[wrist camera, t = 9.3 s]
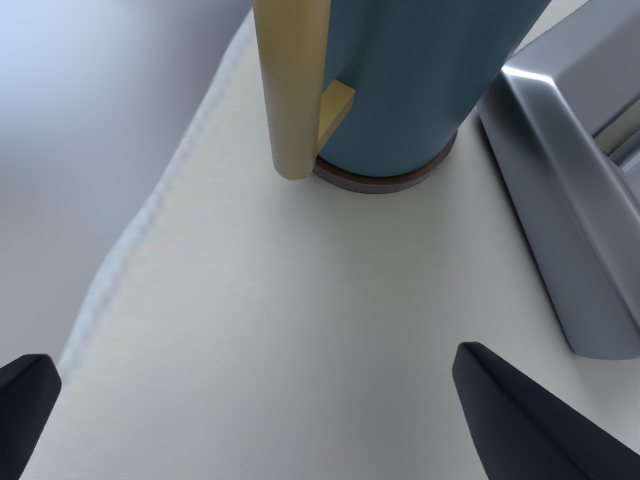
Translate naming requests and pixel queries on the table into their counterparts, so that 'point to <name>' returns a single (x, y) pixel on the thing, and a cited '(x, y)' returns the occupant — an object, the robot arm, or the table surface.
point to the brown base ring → (378, 183)
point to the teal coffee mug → (378, 76)
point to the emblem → (577, 169)
